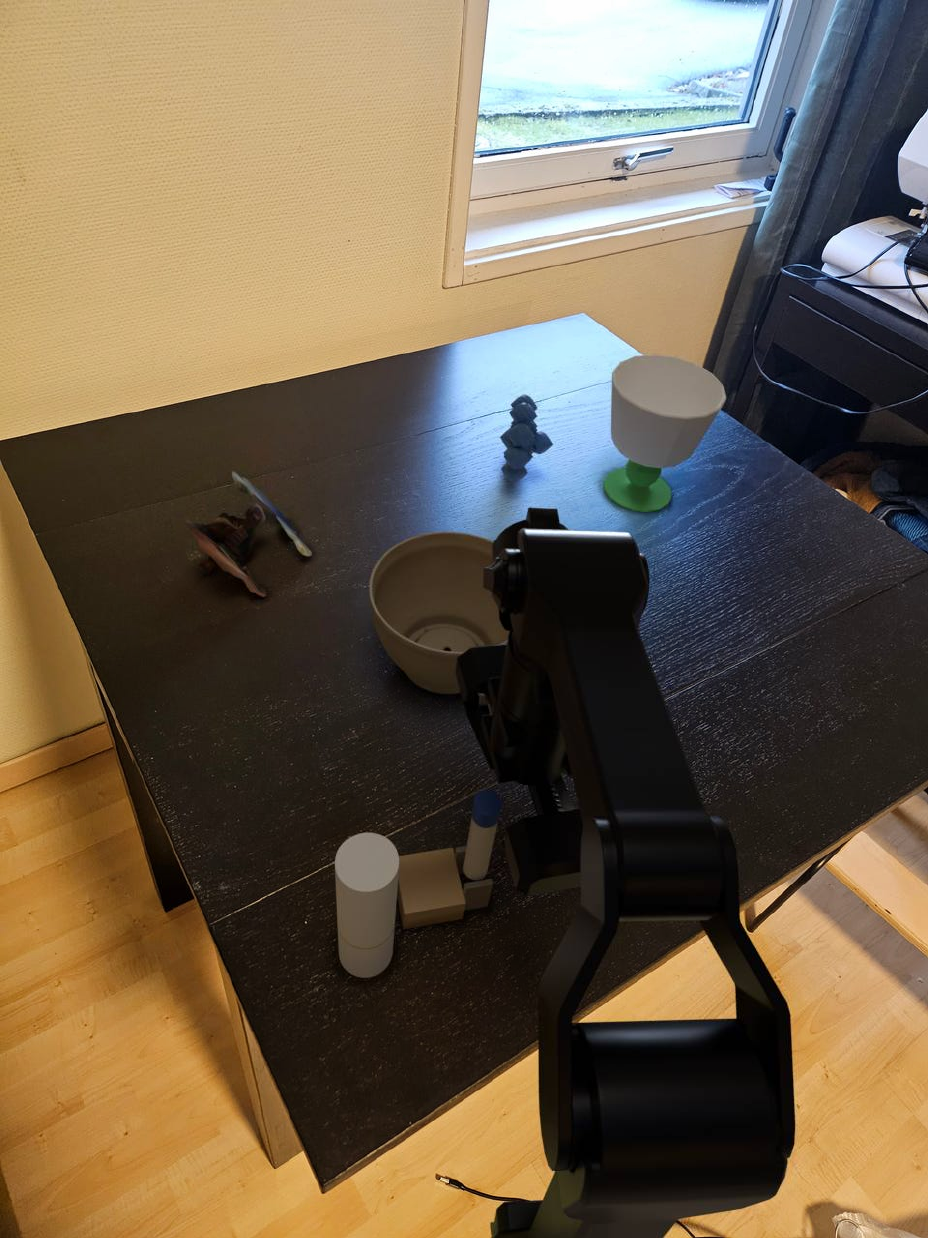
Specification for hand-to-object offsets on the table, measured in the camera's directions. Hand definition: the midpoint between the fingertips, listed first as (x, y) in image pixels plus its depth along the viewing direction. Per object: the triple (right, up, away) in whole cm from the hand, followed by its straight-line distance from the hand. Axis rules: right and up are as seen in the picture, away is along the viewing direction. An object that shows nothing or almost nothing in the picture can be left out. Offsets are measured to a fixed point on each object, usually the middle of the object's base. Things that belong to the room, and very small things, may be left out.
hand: (511, 818), depth 65 cm
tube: (-11, -11, +3) cm, 17 cm away
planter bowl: (-6, +11, +25) cm, 27 cm away
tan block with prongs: (-6, -8, +7) cm, 12 cm away
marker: (-1, -2, +1) cm, 2 cm away
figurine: (-27, +22, +32) cm, 48 cm away
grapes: (+4, +33, +47) cm, 58 cm away
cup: (+19, +32, +47) cm, 60 cm away
